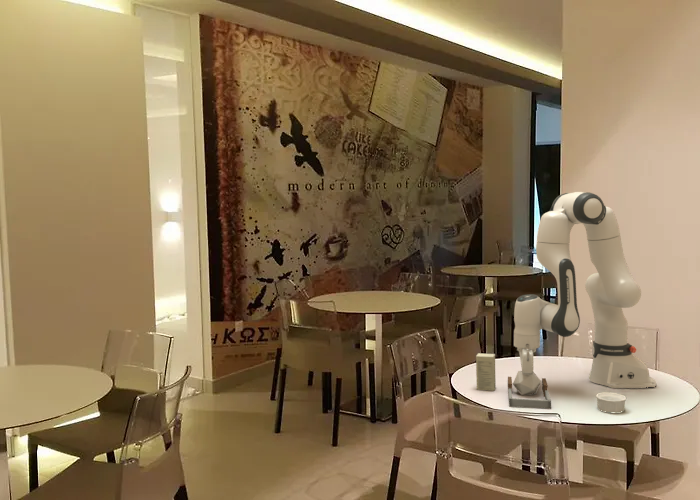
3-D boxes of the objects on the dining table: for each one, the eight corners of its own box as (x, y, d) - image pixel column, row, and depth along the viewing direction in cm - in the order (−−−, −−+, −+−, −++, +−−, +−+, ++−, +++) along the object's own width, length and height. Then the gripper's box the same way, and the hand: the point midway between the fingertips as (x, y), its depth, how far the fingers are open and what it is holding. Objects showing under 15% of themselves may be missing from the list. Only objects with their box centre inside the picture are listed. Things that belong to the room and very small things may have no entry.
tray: (547, 397, 224) (548, 390, 224) (551, 408, 213) (551, 401, 213) (508, 395, 227) (508, 388, 227) (509, 406, 216) (509, 398, 216)
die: (538, 400, 224) (548, 374, 227) (516, 388, 223) (526, 363, 226) (527, 401, 231) (536, 376, 234) (505, 390, 231) (515, 364, 234)
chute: (545, 389, 233) (545, 378, 233) (547, 397, 225) (547, 385, 224) (507, 387, 236) (507, 376, 235) (508, 395, 227) (508, 383, 227)
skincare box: (495, 387, 236) (496, 353, 235) (494, 391, 232) (494, 356, 230) (477, 386, 238) (477, 352, 237) (475, 389, 234) (475, 355, 233)
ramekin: (594, 412, 210) (595, 398, 210) (596, 403, 218) (597, 390, 218) (625, 415, 206) (625, 402, 206) (626, 407, 215) (626, 393, 214)
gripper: (538, 348, 222) (537, 389, 223) (534, 335, 242) (533, 372, 243) (518, 348, 223) (517, 388, 224) (516, 334, 243) (516, 371, 244)
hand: (526, 380), depth 234 cm, fingers closed
